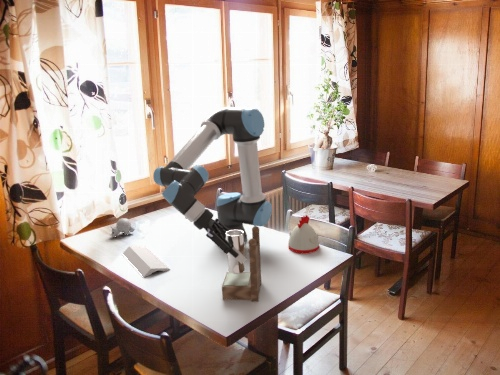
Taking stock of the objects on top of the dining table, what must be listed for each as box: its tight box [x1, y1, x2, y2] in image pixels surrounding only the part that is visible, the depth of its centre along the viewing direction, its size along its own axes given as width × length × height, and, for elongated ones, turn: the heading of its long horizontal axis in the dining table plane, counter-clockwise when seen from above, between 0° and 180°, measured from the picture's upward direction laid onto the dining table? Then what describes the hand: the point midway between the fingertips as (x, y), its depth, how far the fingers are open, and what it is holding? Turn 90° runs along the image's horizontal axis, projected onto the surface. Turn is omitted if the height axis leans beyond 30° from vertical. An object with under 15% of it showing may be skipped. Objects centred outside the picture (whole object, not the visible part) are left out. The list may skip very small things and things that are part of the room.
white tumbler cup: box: [226, 230, 246, 274], centre depth 174 cm, size 7×7×15 cm
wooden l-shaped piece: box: [221, 225, 262, 303], centre depth 175 cm, size 13×15×24 cm
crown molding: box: [122, 245, 171, 278], centre depth 208 cm, size 29×12×4 cm, turn 32°
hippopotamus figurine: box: [109, 217, 135, 238], centre depth 239 cm, size 7×12×8 cm, turn 125°
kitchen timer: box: [287, 214, 320, 255], centre depth 214 cm, size 14×14×15 cm
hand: (245, 256), depth 174 cm, fingers closed on white tumbler cup, 7 cm apart
